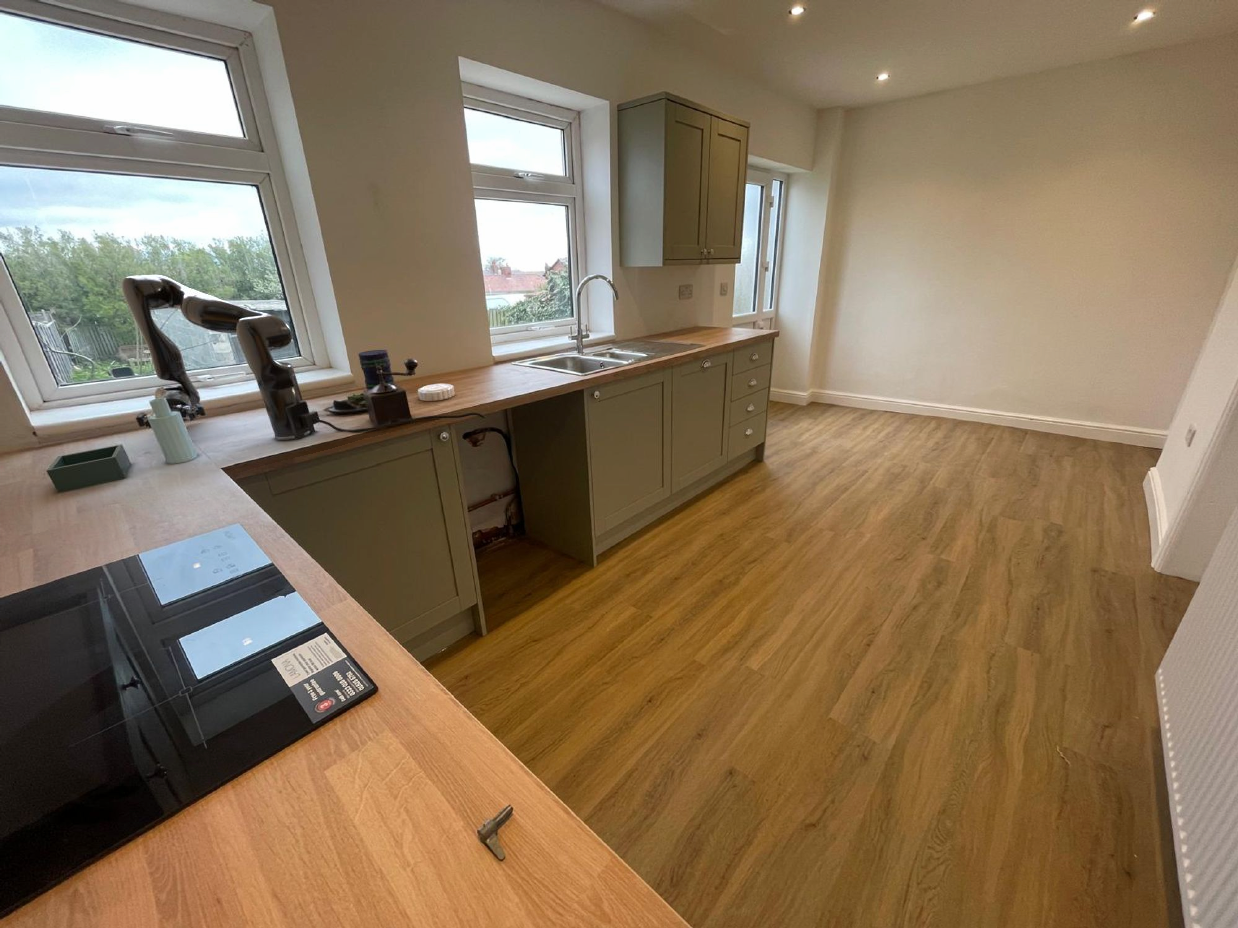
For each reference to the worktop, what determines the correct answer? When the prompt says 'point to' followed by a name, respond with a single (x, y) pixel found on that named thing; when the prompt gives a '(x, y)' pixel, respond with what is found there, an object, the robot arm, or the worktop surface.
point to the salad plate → (349, 406)
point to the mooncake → (436, 392)
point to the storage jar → (375, 367)
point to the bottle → (171, 433)
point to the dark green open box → (89, 468)
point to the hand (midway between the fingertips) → (170, 420)
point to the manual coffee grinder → (389, 398)
